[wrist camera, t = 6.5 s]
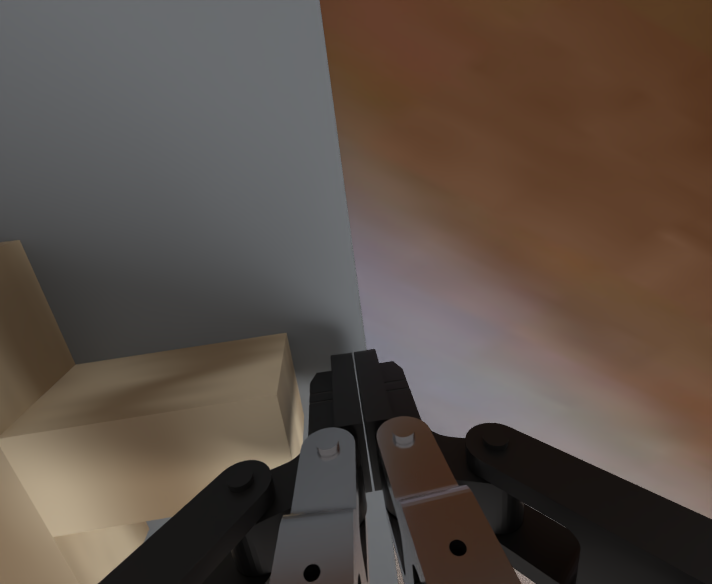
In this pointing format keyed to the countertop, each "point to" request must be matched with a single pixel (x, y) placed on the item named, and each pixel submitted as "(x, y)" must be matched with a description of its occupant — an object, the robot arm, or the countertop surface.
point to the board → (182, 183)
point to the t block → (120, 434)
